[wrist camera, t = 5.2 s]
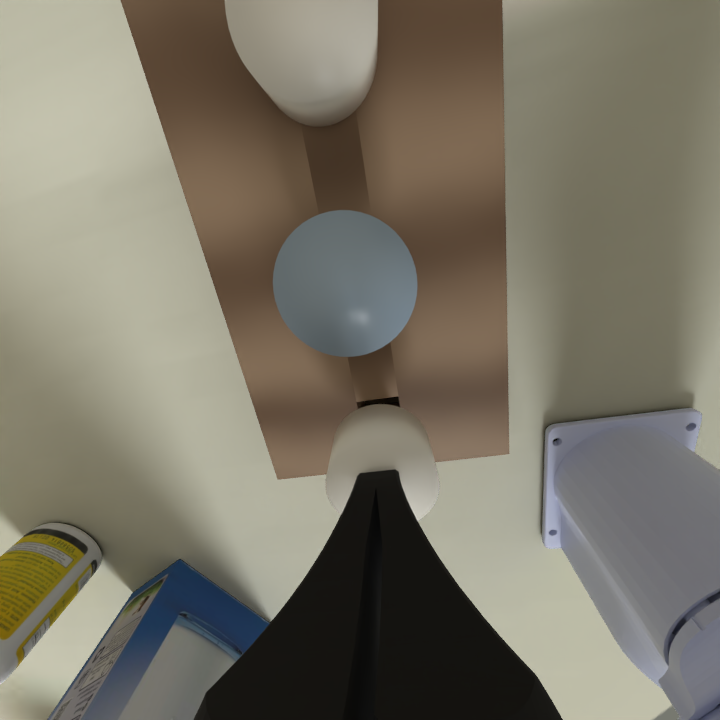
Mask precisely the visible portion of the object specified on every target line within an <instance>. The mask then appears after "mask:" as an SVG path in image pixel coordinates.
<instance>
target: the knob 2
mask: <svg viewBox="0 0 720 720" xmlns="http://www.w3.org/2000/svg"><path fill="white" fill-rule="evenodd" d="M393 469H396V470H397V471H398V472H399V476H400V481H401V485H402V488H403V490H404V493H405V495H406V498H407V500H408V503H409V505H410V507H411V509H412V511H413V513H414V515H415V517H416V519H417V521H418V520H420V519H421V518H423V517H424V516H425V515H426V514H427V513H428V512H429V511H430V510H431V509H432V507H433V506H434V505H435V503H436V500H437V498H438V495H439V489H440V481H439V476H438V472H437V468H436V464H435V460H434V456H433V452H432V449H431V445H430V441H429V437H428V434H427V431H426V429H425V427H424V425H423V424H422V423H421V421H420V420H419V419H418V418H417V417H416V416H415V415H413V414H412V413H411V412H409V411H407V410H405V409H403V408H400V407H397V406H394V405H388V404H374V405H369V406H365V407H362V408H359V409H357V410H355V411H354V412H352V413H350V414H349V415H348V416H347V417H345V419H344V420H343V421H342V422H341V423H340V425H339V426H338V428H337V430H336V433H335V436H334V441H333V446H332V451H331V456H330V461H329V466H328V471H327V475H326V492H327V496H328V499H329V501H330V503H331V504H332V506H333V507H334V509H335V510H336V511H337V512H338V513H339V514H340V515H341V514H342V512H343V510H344V508H345V506H346V503H347V501H348V499H349V496H350V494H351V492H352V489H353V487H354V484H355V481H356V478H357V476H358V475H359V473H366V472H375V471H384V470H393Z"/></svg>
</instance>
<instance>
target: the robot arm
mask: <svg viewBox="0 0 720 720" xmlns="http://www.w3.org/2000/svg"><path fill="white" fill-rule="evenodd" d="M701 420H702V414H701V413H700V412H699V411H697V410H695V409H693V408H684V409H675V410H667V411H658V412H650V413H641V414H633V415H624V416H616V417H608V418H599V419H591V420H582V421H574V422H565V423H557V424H552V425H550V426H548V427H547V429H546V431H545V458H544V490H543V523H542V542H543V544H544V546H545V547H546V548H549V549H555V548H562V550H563V551H564V553H565V555H566V556H567V558H568V560H569V562H570V563H571V565H572V567H573V568H574V570H575V572H576V574H577V575H578V577H579V579H580V580H581V582H582V584H583V586H584V587H585V589H586V591H587V592H588V594H589V596H590V598H591V599H592V601H593V603H594V605H595V606H596V608H597V610H598V611H599V613H600V615H601V617H602V618H603V620H604V622H605V623H606V625H607V627H608V629H609V630H610V632H611V634H612V635H613V637H614V639H615V640H616V642H617V644H618V645H619V646H620V648H621V649H622V651H623V652H624V653H625V655H626V656H627V657H628V658H629V659H630V660H631V662H632V663H633V664H634V665H635V666H636V667H637V668H638V669H639V670H640V671H641V672H642V673H644V674H645V675H646V676H647V677H648V678H649V679H650V680H652V681H653V682H654V683H655V684H657V685H658V686H659V687H660V688H662V689H663V691H664V692H665V694H666V696H667V697H668V699H669V700H670V702H671V704H672V705H673V707H674V708H675V710H676V712H677V713H678V715H679V716H680V717H679V718H677V720H720V470H719V469H717V468H716V467H715V466H713V465H712V464H710V463H709V462H707V461H706V460H705V459H703V458H702V457H700V456H699V455H697V454H696V453H695V452H694V451H695V446H696V442H697V437H698V433H699V429H700V424H701ZM688 424H689V425H688ZM687 425H688V426H687ZM556 438H558V440H557V441H554V442H553V440H554V439H556ZM194 720H563V719H562V718H561V716H560V714H559V712H558V711H557V709H556V707H555V705H554V704H553V702H552V700H551V699H550V697H549V695H548V694H547V692H546V690H545V689H544V687H543V685H542V684H541V682H540V680H539V679H538V677H537V676H536V675H535V673H534V672H533V671H532V670H531V669H530V668H529V667H528V666H527V665H526V664H525V663H524V662H523V661H522V660H521V659H520V658H519V657H518V655H517V654H516V653H515V652H514V651H513V650H512V649H511V648H510V647H509V646H508V645H507V643H506V642H505V641H504V640H503V639H502V638H501V637H500V636H499V634H498V633H497V632H496V631H495V630H494V629H493V627H492V626H491V625H490V624H489V623H488V622H487V621H486V619H485V618H484V617H483V616H482V615H481V613H480V612H479V611H478V609H477V608H476V607H475V606H474V604H473V603H472V602H471V601H470V599H469V598H468V597H467V596H466V594H465V593H464V592H463V591H462V589H461V588H460V587H459V585H458V584H457V583H456V581H455V580H454V578H453V577H452V576H451V574H450V573H449V571H448V570H447V569H446V567H445V566H444V564H443V563H442V561H441V560H440V558H439V557H438V555H437V554H436V552H435V550H434V549H433V547H432V546H431V544H430V542H429V541H428V539H427V537H426V535H425V534H424V532H423V530H422V529H421V527H420V525H419V523H418V521H417V519H416V517H415V515H414V513H413V511H412V509H411V507H410V505H409V503H408V500H407V498H406V495H405V493H404V490H403V488H402V485H401V481H400V476H399V472H398V471H397V470H396V469H393V470H384V471H375V472H366V473H359V475H358V476H357V478H356V481H355V484H354V487H353V489H352V492H351V494H350V496H349V499H348V501H347V503H346V506H345V508H344V510H343V512H342V514H341V516H340V518H339V520H338V522H337V524H336V526H335V528H334V530H333V532H332V534H331V535H330V537H329V539H328V541H327V543H326V544H325V546H324V548H323V550H322V551H321V553H320V555H319V556H318V558H317V560H316V561H315V563H314V564H313V566H312V567H311V569H310V570H309V572H308V574H307V575H306V577H305V578H304V579H303V581H302V582H301V584H300V585H299V586H298V588H297V589H296V591H295V592H294V593H293V595H292V596H291V597H290V599H289V600H288V601H287V603H286V604H285V605H284V607H283V608H282V609H281V610H280V612H279V613H278V614H277V615H276V617H275V618H274V619H273V620H272V621H271V622H270V624H269V625H268V626H267V627H266V628H265V630H264V631H263V632H262V633H261V634H260V635H259V637H258V638H257V639H256V640H255V641H254V643H253V644H252V645H251V646H250V647H249V648H248V649H247V650H246V651H245V653H244V654H243V655H242V656H241V657H240V658H239V659H238V660H237V661H236V662H235V663H234V664H233V665H232V666H231V667H230V668H229V669H228V670H227V671H226V672H225V673H224V674H223V675H222V676H221V678H220V679H219V680H218V681H217V682H216V683H215V684H214V685H213V686H212V687H211V688H210V689H209V690H208V691H207V692H206V693H205V696H204V698H203V700H202V703H201V705H200V707H199V709H198V711H197V713H196V715H195V717H194Z"/></svg>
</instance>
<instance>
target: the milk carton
mask: <svg viewBox="0 0 720 720" xmlns="http://www.w3.org/2000/svg"><path fill="white" fill-rule="evenodd" d="M269 624H270V623H269V622H268V621H266V620H265V619H263V618H262V617H261V616H259V615H258V614H256V613H255V612H254V611H252V610H251V609H249V608H248V607H247V606H245V605H244V604H242V603H241V602H240V601H238V600H237V599H235V598H234V597H233V596H231V595H230V594H228V593H227V592H226V591H224V590H223V589H221V588H220V587H219V586H217V585H216V584H214V583H213V582H211V581H210V580H209V579H207V578H206V577H204V576H203V575H202V574H200V573H199V572H197V571H196V570H195V569H193V568H192V567H190V566H189V565H188V564H186V563H185V562H183V561H182V560H181V559H179V560H178V561H176V562H175V563H174V564H172V565H171V566H169V567H168V568H167V569H165V570H164V571H162V572H161V573H160V574H158V575H157V576H156V577H154V578H153V579H151V580H150V581H149V582H147V583H146V584H144V585H143V586H142V587H140V588H139V589H138V590H136V591H135V592H133V593H132V595H131V596H130V598H129V599H128V601H127V602H126V603H125V605H124V606H123V608H122V609H121V611H120V612H119V614H118V615H117V617H116V618H115V620H114V621H113V623H112V624H111V626H110V627H109V629H108V630H107V632H106V633H105V635H104V636H103V638H102V639H101V641H100V642H99V644H98V645H97V647H96V648H95V650H94V651H93V653H92V654H91V656H90V657H89V658H88V660H87V661H86V663H85V664H84V666H83V667H82V669H81V670H80V672H79V673H78V675H77V676H76V678H75V679H74V681H73V682H72V684H71V685H70V687H69V688H68V690H67V691H66V693H65V694H64V696H63V697H62V699H61V700H60V702H59V703H58V705H57V706H56V708H55V709H54V711H53V712H52V713H51V715H50V716H49V718H48V719H47V720H194V717H195V715H196V713H197V711H198V709H199V707H200V705H201V703H202V700H203V698H204V696H205V693H206V692H207V691H208V690H209V689H210V688H211V687H212V686H213V685H214V684H215V683H216V682H217V681H218V680H219V679H220V678H221V676H222V675H223V674H224V673H225V672H226V671H227V670H228V669H229V668H230V667H231V666H232V665H233V664H234V663H235V662H236V661H237V660H238V659H239V658H240V657H241V656H242V655H243V654H244V653H245V651H246V650H247V649H248V648H249V647H250V646H251V645H252V644H253V643H254V641H255V640H256V639H257V638H258V637H259V635H260V634H261V633H262V632H263V631H264V630H265V628H266V627H267V626H268V625H269Z"/></svg>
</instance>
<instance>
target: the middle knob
mask: <svg viewBox="0 0 720 720" xmlns="http://www.w3.org/2000/svg"><path fill="white" fill-rule="evenodd" d="M273 292H274V297H275V302H276V305H277V307H278V310H279V312H280V315H281V317H282V319H283V320H284V322H285V323H286V325H287V326H288V328H289V329H290V330H291V331H292V332H293V334H294V335H296V336H297V337H298V338H299V339H300V340H301V341H302V342H304V343H305V344H306V345H308V346H310V347H311V348H313V349H315V350H317V351H320V352H322V353H325V354H329V355H333V356H339V357H353V356H360V355H365V354H368V353H371V352H374V351H376V350H378V349H380V348H382V347H384V346H385V345H387V344H388V343H390V342H391V341H392V340H393V339H394V338H395V337H396V336H397V335H398V334H399V333H400V332H401V331H402V330H403V328H404V327H405V325H406V324H407V322H408V320H409V318H410V316H411V314H412V312H413V309H414V306H415V302H416V297H417V274H416V268H415V265H414V262H413V258H412V256H411V254H410V252H409V250H408V248H407V246H406V245H405V243H404V242H403V240H402V239H401V238H400V237H399V235H398V234H397V233H396V232H395V231H394V230H393V229H392V228H390V227H389V226H388V225H387V224H385V223H384V222H382V221H381V220H379V219H377V218H375V217H373V216H371V215H368V214H365V213H362V212H357V211H351V210H337V211H329V212H326V213H322V214H319V215H317V216H314V217H312V218H310V219H308V220H307V221H305V222H304V223H302V224H301V225H300V226H298V227H297V228H296V229H295V230H294V231H293V232H292V233H291V234H290V235H289V237H288V238H287V239H286V241H285V242H284V244H283V245H282V247H281V249H280V251H279V253H278V256H277V259H276V262H275V267H274V272H273Z"/></svg>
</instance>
